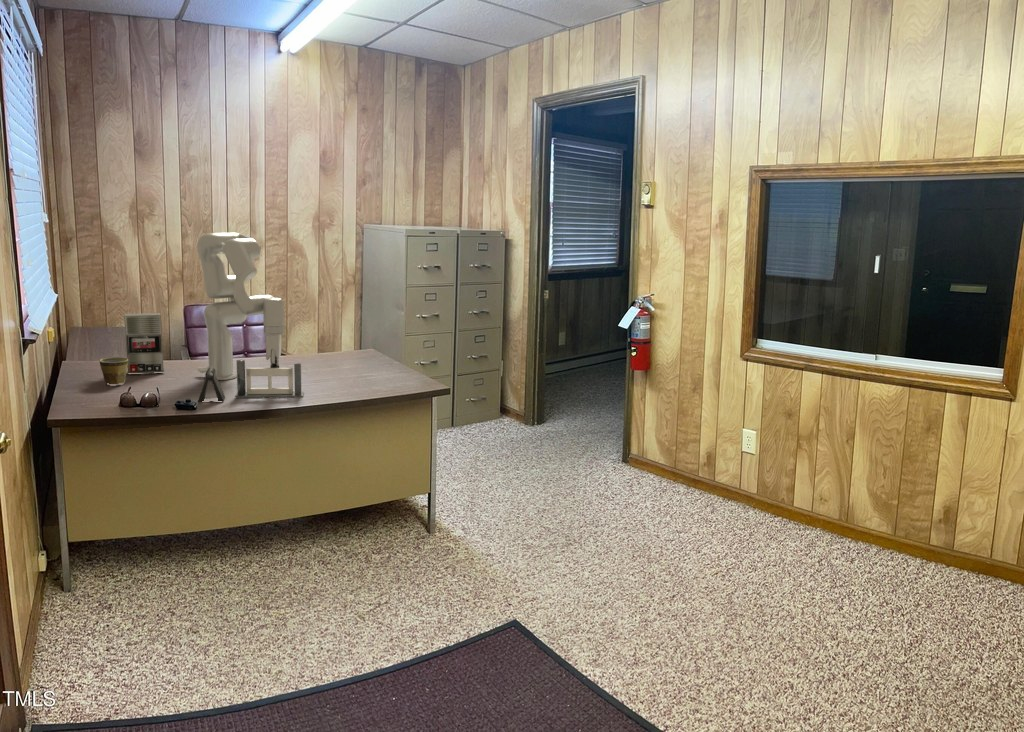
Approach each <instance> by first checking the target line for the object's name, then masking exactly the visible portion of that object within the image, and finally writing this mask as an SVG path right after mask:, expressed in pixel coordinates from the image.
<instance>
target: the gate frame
mask: <svg viewBox="0 0 1024 732" xmlns="http://www.w3.org/2000/svg"><path fill="white" fill-rule="evenodd" d="M293 365H294V369H293V370H294V371H293V372H294V373H293V374H294V375H293V376H294V377H293V378H294V391H293V394H247V382H246V360H245V359H237V360H236V373H237V377H236V383H237V384H236V386H237V388H236V389H237V391H236V394H235V396H234V397H236V398H235V399H263V397H265V398H264V399H270V398H269V397H275V398H274V399H277V398H276V397H303V398H304V394H305V391H302V362H300V361H299V362H294V363H293ZM266 397H268V398H266Z"/></svg>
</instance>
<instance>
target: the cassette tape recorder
mask: <svg viewBox="0 0 1024 732" xmlns="http://www.w3.org/2000/svg"><path fill="white" fill-rule="evenodd" d="M123 317H124V330H125V348H126V350H125V352H126V358H127V359H128V365H127V371H126V374H127V373H154V372H164V373H165V367H164V352H163V351H164V349H163V333H162V332H163V331H162V330H163V329H162V315H161V312H158V313H157V312H152V313H149V312H148V313H124V315H123Z"/></svg>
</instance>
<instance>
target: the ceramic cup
mask: <svg viewBox="0 0 1024 732" xmlns="http://www.w3.org/2000/svg"><path fill="white" fill-rule="evenodd" d="M127 365H128V359H127V357H122V356H121V357H120V356H117V357H115V356H114V357H112V356H111V357H105V358H100V360H99V366H100V369H101V372H102V375H103V380H104V383H105V382H106V383H109V384H119V383H124V382H125V383H126V377H127V371H128V367H127Z"/></svg>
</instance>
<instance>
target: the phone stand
mask: <svg viewBox="0 0 1024 732" xmlns="http://www.w3.org/2000/svg"><path fill="white" fill-rule="evenodd" d="M209 370H210V368H208V370H207V372H205V374H204V377H205V376H206V378H205V381H204V382H203V386H202V389H201V392H200V395H199V397H198V400H197V403H198V402H202V401H204V399H205V398H206V394H207V390H208V386H209V383H210V381H211V383H212V387H213V389H214V392H215V395H216V397H217V398H218V401H225V399H226V396H225V394H224V391H223V388H222V387H221V384H220V382H219V380H217V377H216V374H215V373H216V370H215V369H214V368H212V370H211V372H212V373H213V375H210V374H209V373H208V372H209Z"/></svg>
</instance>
